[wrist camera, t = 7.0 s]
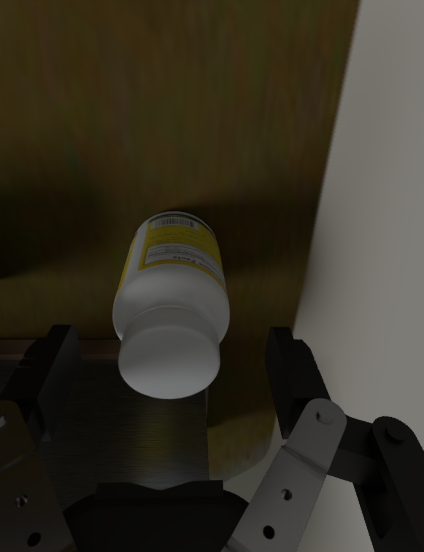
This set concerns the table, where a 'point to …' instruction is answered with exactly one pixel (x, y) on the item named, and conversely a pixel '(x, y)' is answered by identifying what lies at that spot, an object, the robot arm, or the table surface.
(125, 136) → the table surface
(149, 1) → the table surface
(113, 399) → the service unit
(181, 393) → the supplement bottle
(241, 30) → the table surface
